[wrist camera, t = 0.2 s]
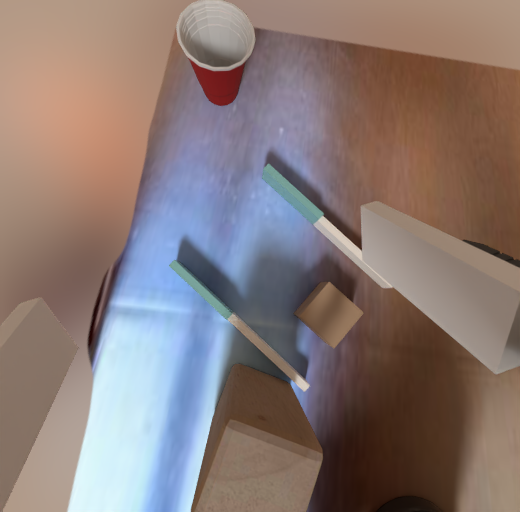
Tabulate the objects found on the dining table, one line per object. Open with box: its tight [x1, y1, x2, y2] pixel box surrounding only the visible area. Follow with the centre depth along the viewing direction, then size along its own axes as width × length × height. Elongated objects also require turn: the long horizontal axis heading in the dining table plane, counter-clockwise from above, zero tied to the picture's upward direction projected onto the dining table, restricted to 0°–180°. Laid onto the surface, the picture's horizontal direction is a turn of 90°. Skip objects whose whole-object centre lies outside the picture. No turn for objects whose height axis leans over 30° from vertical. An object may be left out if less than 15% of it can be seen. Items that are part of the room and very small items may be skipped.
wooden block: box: [191, 364, 323, 512], centre depth 35 cm, size 10×10×20 cm
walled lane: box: [169, 164, 393, 392], centre depth 45 cm, size 28×22×4 cm
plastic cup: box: [176, 0, 255, 106], centre depth 44 cm, size 11×11×12 cm
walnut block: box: [293, 282, 363, 348], centre depth 45 cm, size 7×7×5 cm
